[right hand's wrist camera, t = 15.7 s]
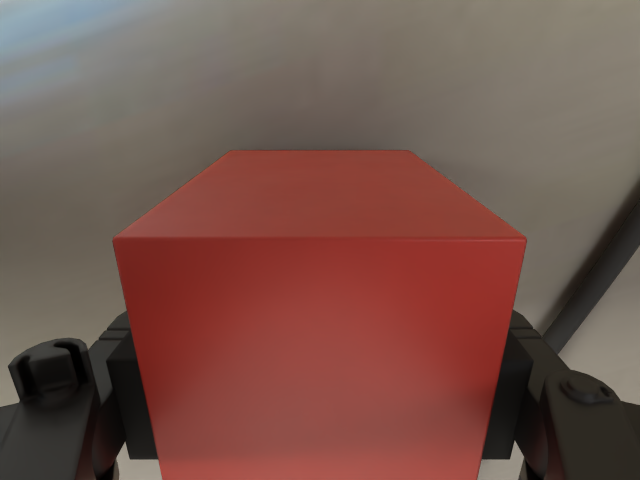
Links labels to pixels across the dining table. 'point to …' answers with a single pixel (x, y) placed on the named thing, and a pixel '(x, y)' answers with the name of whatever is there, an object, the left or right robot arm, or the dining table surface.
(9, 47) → the dining table surface
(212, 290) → the block
